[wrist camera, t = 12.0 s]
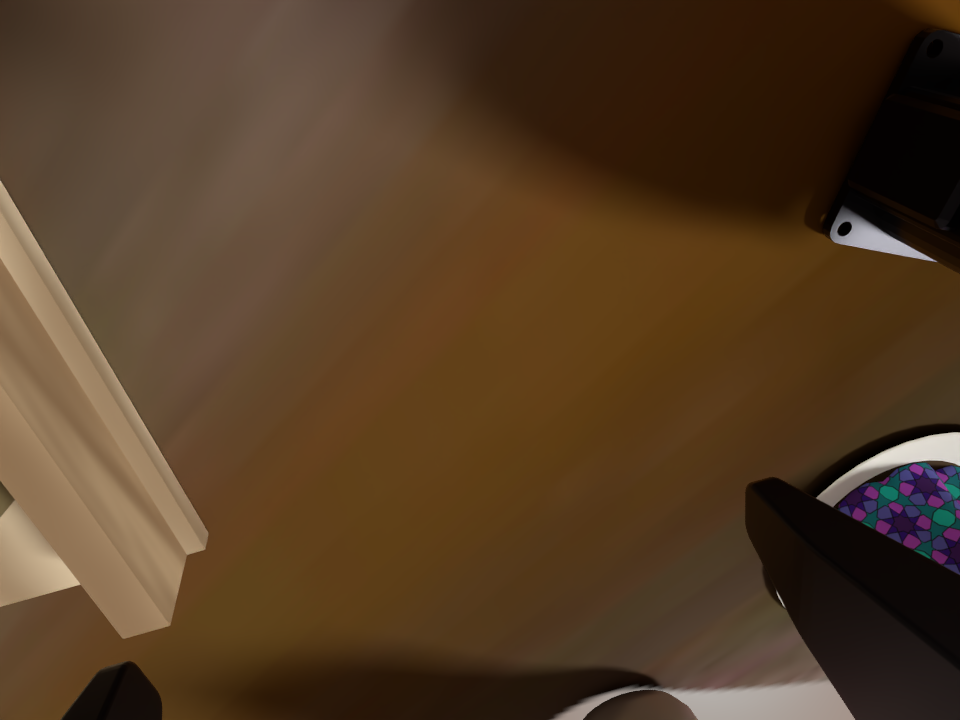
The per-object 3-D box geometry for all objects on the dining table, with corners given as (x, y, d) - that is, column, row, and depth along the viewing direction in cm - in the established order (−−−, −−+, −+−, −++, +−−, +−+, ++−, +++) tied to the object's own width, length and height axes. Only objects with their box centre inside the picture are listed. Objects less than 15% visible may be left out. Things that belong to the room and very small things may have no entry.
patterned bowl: (993, 568, 36) (1086, 657, 31) (771, 643, 36) (832, 743, 31) (1030, 385, 29) (1153, 464, 25) (759, 476, 29) (834, 572, 25)
